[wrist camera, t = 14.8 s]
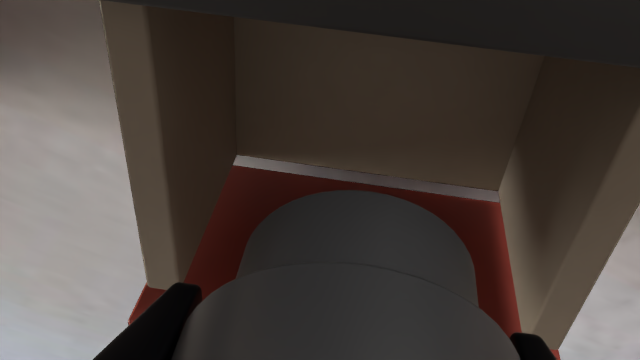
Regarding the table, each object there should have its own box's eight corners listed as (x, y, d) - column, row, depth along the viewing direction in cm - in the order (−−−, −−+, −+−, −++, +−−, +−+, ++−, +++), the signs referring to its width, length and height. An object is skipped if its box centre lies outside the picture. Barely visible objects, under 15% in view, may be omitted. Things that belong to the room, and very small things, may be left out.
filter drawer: (476, 335, 23) (492, 514, 18) (213, 294, 24) (155, 456, 19) (703, -238, 11) (938, -202, 6) (175, -288, 12) (-8, -293, 7)
